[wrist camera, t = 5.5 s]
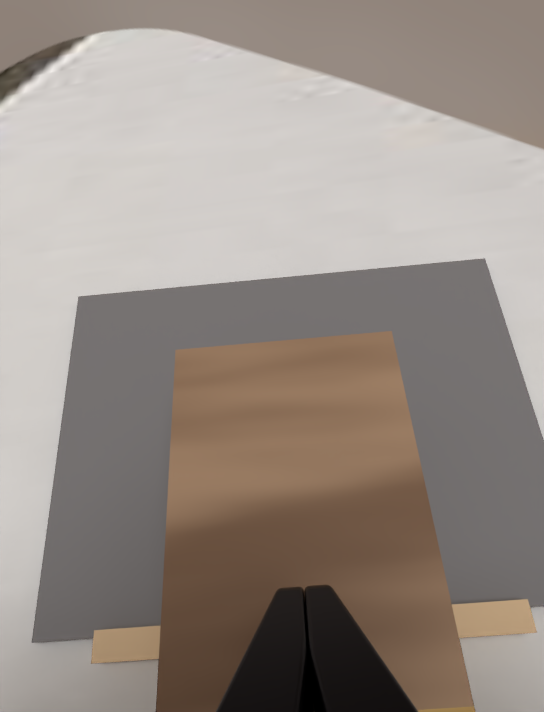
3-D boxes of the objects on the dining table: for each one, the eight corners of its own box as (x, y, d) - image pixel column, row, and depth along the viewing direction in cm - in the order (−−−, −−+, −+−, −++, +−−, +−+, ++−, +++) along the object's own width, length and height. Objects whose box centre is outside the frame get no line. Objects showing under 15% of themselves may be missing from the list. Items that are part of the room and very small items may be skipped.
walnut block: (481, 740, 9) (391, 330, 14) (153, 759, 9) (175, 349, 14) (436, 720, 13) (376, 396, 17) (196, 735, 13) (202, 411, 17)
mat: (598, 626, 14) (613, 627, 13) (33, 666, 15) (19, 668, 14) (482, 263, 20) (488, 250, 19) (81, 300, 20) (73, 289, 20)
